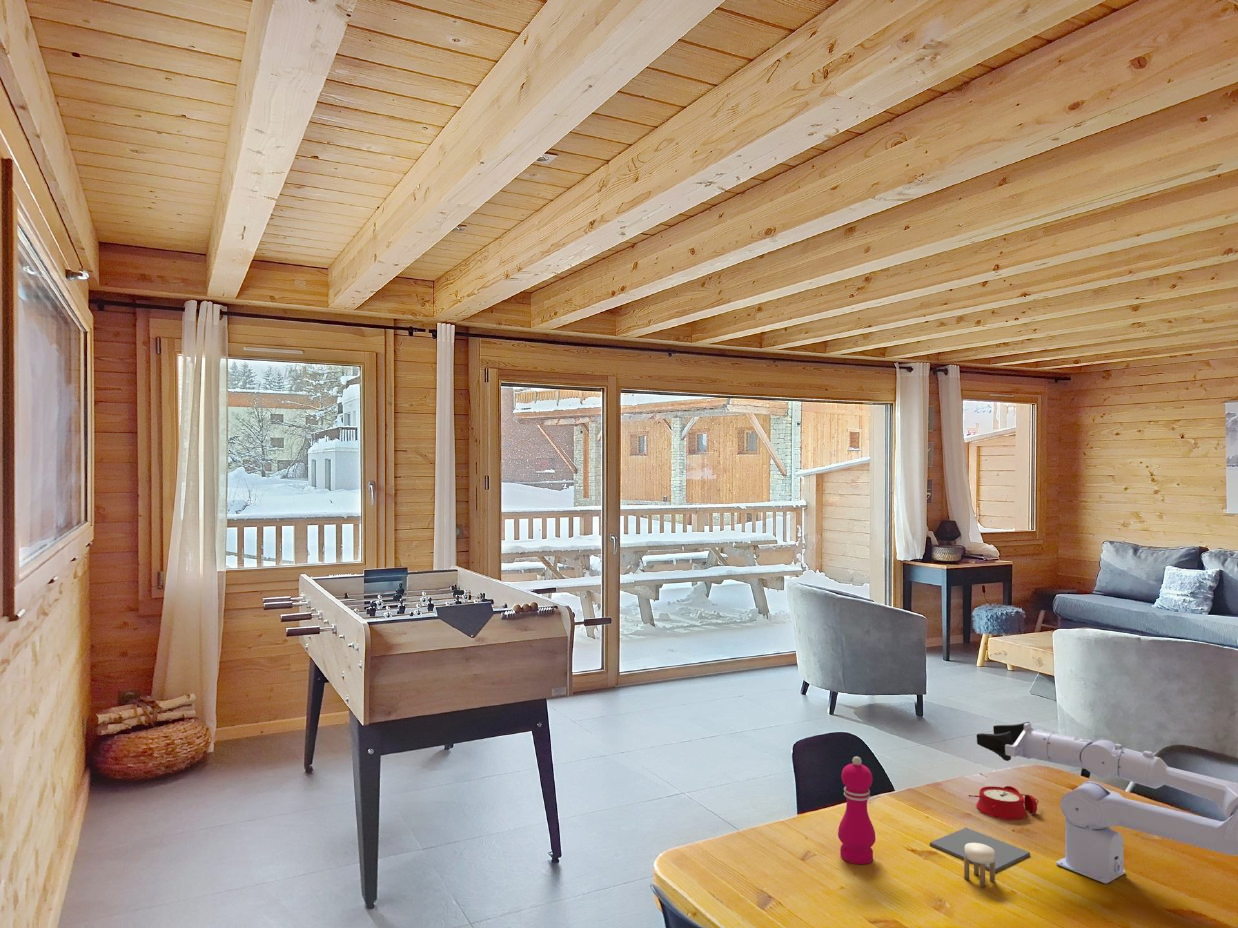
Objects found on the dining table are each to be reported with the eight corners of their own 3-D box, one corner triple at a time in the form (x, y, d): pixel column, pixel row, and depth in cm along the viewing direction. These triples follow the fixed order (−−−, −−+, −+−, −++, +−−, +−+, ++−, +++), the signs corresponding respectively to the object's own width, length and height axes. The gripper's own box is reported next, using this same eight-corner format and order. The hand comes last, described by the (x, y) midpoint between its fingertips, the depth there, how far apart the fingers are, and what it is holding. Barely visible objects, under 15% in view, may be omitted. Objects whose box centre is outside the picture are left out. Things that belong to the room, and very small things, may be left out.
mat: (1030, 855, 164) (1030, 852, 164) (994, 872, 157) (994, 869, 157) (966, 829, 176) (966, 827, 176) (929, 845, 168) (929, 842, 168)
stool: (1000, 881, 153) (1000, 850, 153) (984, 889, 150) (984, 857, 150) (974, 870, 157) (974, 840, 158) (958, 877, 154) (959, 846, 155)
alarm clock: (962, 790, 189) (1012, 769, 194) (967, 815, 189) (1016, 794, 194) (996, 807, 179) (1048, 784, 184) (1001, 834, 180) (1052, 811, 184)
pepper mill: (877, 867, 158) (877, 764, 159) (839, 863, 160) (839, 761, 160) (873, 850, 165) (873, 752, 166) (836, 847, 167) (837, 749, 167)
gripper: (1065, 719, 169) (1000, 708, 179) (1036, 735, 159) (968, 723, 170) (1068, 753, 169) (1002, 740, 179) (1038, 772, 159) (970, 757, 170)
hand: (985, 734), depth 174 cm, fingers open, 7 cm apart
